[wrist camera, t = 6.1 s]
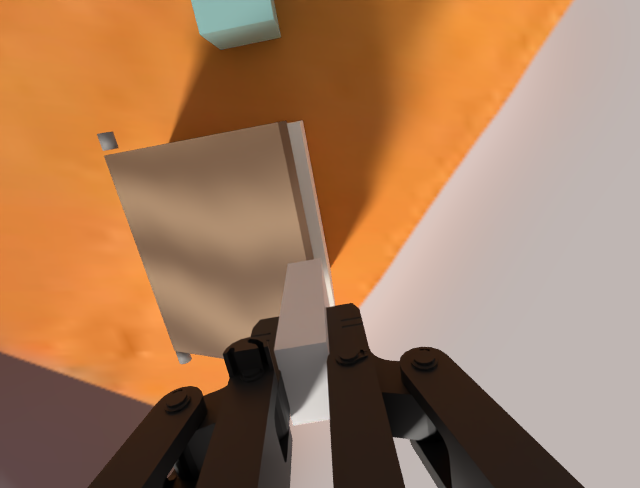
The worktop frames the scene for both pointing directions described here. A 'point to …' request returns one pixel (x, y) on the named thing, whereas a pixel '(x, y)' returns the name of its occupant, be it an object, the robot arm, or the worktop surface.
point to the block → (236, 21)
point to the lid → (215, 230)
